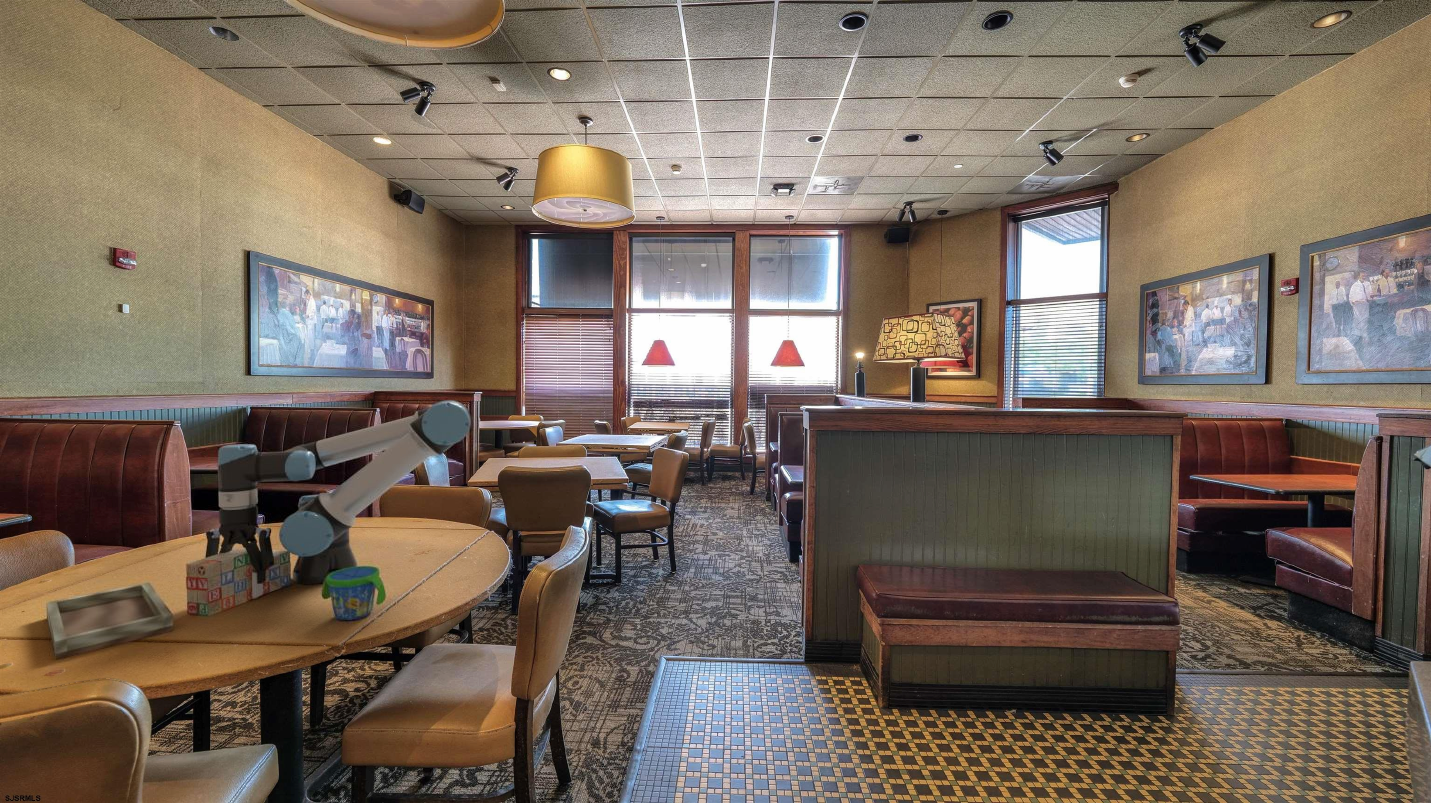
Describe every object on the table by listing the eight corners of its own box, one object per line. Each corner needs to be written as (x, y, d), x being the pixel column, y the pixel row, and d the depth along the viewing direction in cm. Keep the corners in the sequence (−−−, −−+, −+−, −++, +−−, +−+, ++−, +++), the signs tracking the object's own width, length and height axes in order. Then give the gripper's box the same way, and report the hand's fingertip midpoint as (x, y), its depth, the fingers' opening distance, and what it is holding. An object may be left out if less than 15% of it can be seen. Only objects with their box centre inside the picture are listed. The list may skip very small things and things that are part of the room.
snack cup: (398, 610, 138) (398, 569, 137) (359, 628, 128) (358, 583, 127) (349, 602, 142) (348, 562, 142) (307, 619, 132) (306, 576, 132)
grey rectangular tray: (149, 596, 145) (149, 582, 145) (173, 630, 126) (172, 614, 126) (46, 618, 132) (46, 602, 132) (55, 659, 113) (55, 641, 113)
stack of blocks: (271, 582, 156) (271, 538, 155) (291, 584, 155) (290, 539, 154) (186, 614, 135) (185, 562, 134) (208, 616, 134) (207, 564, 133)
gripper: (181, 510, 138) (183, 603, 139) (272, 509, 141) (274, 600, 142) (205, 503, 146) (207, 592, 147) (291, 502, 148) (292, 589, 149)
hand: (240, 596), depth 144 cm, fingers closed on stack of blocks, 7 cm apart
